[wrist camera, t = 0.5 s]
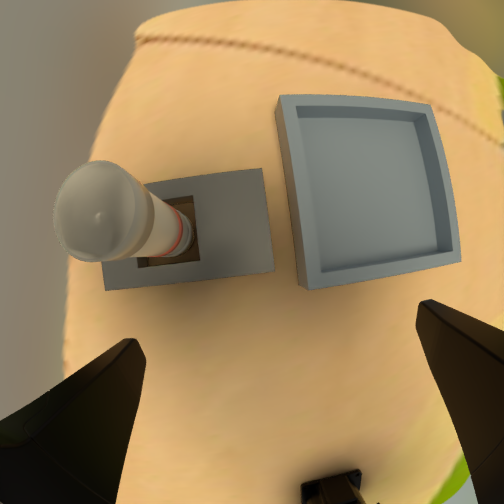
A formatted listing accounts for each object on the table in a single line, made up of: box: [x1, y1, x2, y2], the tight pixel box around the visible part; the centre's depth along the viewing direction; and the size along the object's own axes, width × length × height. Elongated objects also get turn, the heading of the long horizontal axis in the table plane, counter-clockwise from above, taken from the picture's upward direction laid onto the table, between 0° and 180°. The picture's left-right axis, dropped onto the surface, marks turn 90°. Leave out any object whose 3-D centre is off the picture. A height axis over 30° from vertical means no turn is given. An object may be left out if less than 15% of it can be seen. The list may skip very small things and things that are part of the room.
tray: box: [275, 94, 461, 290], centre depth 21 cm, size 14×14×3 cm
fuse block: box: [101, 168, 275, 291], centre depth 20 cm, size 7×12×2 cm, turn 97°
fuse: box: [53, 161, 194, 262], centre depth 15 cm, size 3×3×13 cm
